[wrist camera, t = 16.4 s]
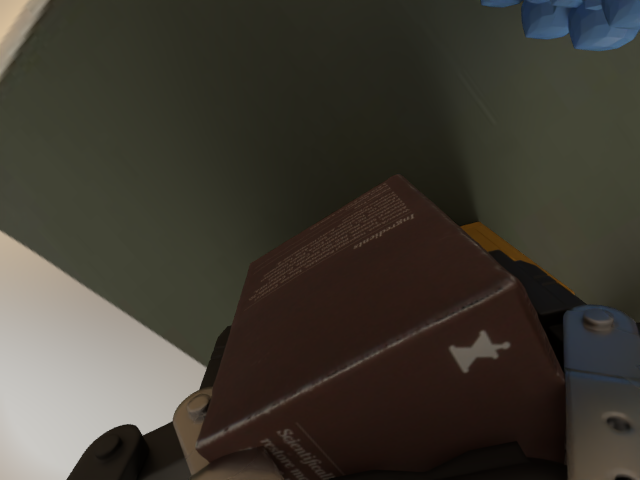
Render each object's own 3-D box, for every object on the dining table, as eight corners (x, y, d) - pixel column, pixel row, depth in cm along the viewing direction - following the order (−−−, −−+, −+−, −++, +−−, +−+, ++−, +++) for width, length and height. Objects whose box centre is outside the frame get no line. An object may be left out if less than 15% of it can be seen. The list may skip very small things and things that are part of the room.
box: (246, 258, 13) (179, 446, 6) (400, 166, 12) (525, 269, 5) (335, 374, 15) (360, 612, 8) (473, 304, 14) (633, 510, 7)
